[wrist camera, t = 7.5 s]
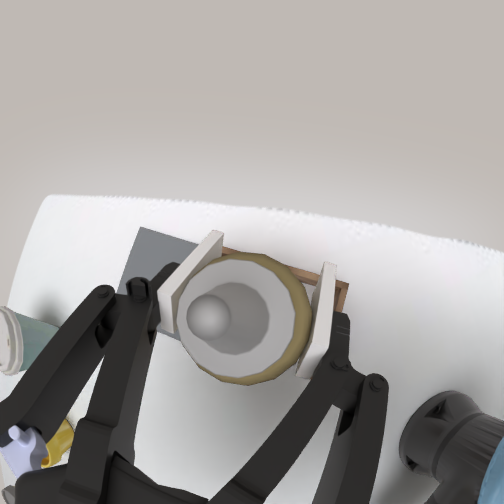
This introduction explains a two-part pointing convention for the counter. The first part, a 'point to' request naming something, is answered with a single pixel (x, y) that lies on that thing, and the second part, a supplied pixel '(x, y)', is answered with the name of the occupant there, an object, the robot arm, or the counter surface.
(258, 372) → the squeeze bottle
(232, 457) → the counter surface
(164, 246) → the slate mat
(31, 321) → the disposable coffee cup
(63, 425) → the plant pot
